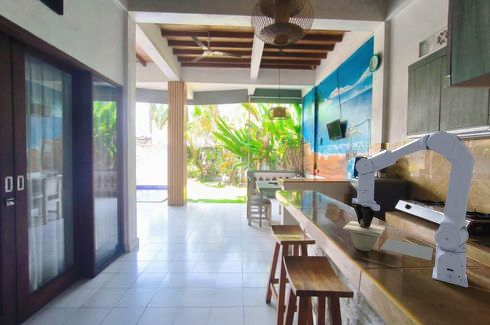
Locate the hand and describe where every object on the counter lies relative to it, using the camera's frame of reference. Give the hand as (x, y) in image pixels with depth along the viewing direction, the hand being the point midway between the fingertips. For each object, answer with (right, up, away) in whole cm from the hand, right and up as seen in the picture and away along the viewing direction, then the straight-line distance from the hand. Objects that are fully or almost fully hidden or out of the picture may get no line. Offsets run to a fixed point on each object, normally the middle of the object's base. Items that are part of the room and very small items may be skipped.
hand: (364, 225), depth 98 cm
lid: (0, -2, 0) cm, 2 cm away
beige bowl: (0, -10, 0) cm, 10 cm away
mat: (+17, -10, +1) cm, 20 cm away
